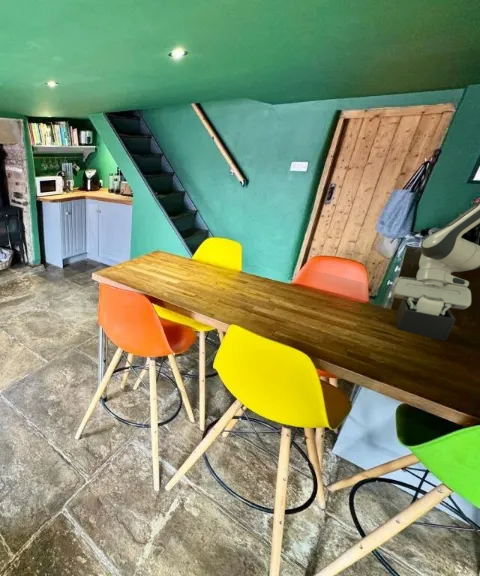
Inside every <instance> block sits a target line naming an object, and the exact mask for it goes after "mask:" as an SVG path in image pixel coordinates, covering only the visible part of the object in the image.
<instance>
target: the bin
mask: <svg viewBox="0 0 480 576" xmlns="http://www.w3.org/2000/svg"><path fill="white" fill-rule="evenodd" d="M412 302H413V304H414V305H417V303H418V302H417V301H412ZM409 308H410V306H409V305H408V303H407V300H406V299H401V302H400V304H399V307H398V309H397V311H396V314H395V317H394V320H395V319H396V321H395V324H397V325H396V328H397V330H398V331H402V332H406V333H410V334H415V335H418V336H423V337H426V338H431V339H435V340H439V341H444V342H446V341H447V339H448V337H449V335H450V332H451V331H452V329H453V327H454V325H455V323H456V320H457V319H456V318H455V316H454V314H453V313H452V311H451V310H450V308H449V309H448V310H446V311H445V315H444V316H438V315H432V314H427V313H422V312H417V311H412V310H409ZM442 310H444V308H442Z"/></svg>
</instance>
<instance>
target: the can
mask: <svg viewBox="0 0 480 576" xmlns="http://www.w3.org/2000/svg"><path fill="white" fill-rule="evenodd" d="M443 301H444V300H443V299H441V298H439V299H438V298H433V297H427V296H426V295H423V296H422V297H421V298H420V299H419V300H418V303H417V307H416V310H415V311H417V312H422V313H427V314H432V315H438V316H439V313H440V312H441V310H442V308H443V305H444V303H443Z"/></svg>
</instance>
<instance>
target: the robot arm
mask: <svg viewBox="0 0 480 576" xmlns="http://www.w3.org/2000/svg"><path fill="white" fill-rule="evenodd" d="M479 224H480V200H479V201H478V202H476V203H475V204H473V205H472V206H471V207H469V208H468V209H467V210H465V211H463V212H462V213H461V214H459V215H458V216H457V217H456V218H454V219H453V220H451V221H450V222H449V223H447V224H446V225H445V226H443V227H441V228H440V229H438V230H436V231H434V232H432V233H431V234H429V235H428V236H426V237H425V238H424V239H423V240H422V242H421V244H420V251H421V254H420V257H419V262H418V267H419V268H418V271H417V272H416V277H406V276H397V277H395V278H394V282H393V284H394V285H395V286H394V288H393V290H392V293H391V295H392V298H395V299H400V300H402V299H403V300H407V303H408V305H409V306H410V308H409V310H412V311H415V310H416V307H417V305H414V304H413V302H412V301H414V302H418V300H419V299H420V298H421V297H422V296H423V295H426V296H427V297H433V298H438V299H439V298H441V299H443V300H444V301H443V303H444V305H443V308H444V310H441V312H440V313H439V316H444V315H445V311H446V310H448V309H449V310H450V309H451V308H452V309H457V310H466V309H467V308H469V307H470V306H471V305H472V292H471V289H470V288H468V287H469V285H470V281H469V280H466V279H463V278H460V277H457V276H455V275H453V274H452V273H461V272H462V273H463V272H468V271H473V270H476V269H478V268H480V245H479V244H477V243H475V242H472V241H470V240H467V239H465V238H463V235H465V234H466V233H467V232H469V231H470V230H471V229H473V228H475V227H476V226H478V225H479Z"/></svg>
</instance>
